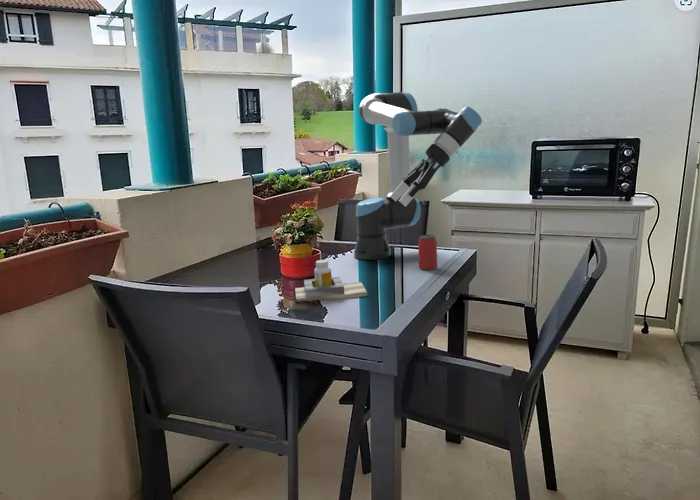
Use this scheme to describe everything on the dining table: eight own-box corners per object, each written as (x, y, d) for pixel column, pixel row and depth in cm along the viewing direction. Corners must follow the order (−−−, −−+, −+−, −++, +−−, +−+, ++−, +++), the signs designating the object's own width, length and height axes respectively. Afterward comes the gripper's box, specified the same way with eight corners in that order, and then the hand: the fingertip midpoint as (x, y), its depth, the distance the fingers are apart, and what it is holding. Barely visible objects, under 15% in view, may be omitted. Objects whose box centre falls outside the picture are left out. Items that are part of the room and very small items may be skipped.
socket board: (295, 291, 167) (294, 280, 166) (361, 285, 170) (360, 274, 169) (296, 302, 155) (295, 291, 155) (367, 295, 158) (366, 284, 157)
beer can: (436, 270, 182) (436, 237, 180) (418, 270, 184) (417, 238, 181) (437, 265, 189) (436, 234, 186) (419, 266, 190) (418, 234, 188)
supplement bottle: (334, 288, 164) (332, 259, 162) (329, 293, 159) (326, 263, 157) (319, 287, 165) (317, 258, 163) (313, 292, 160) (310, 263, 158)
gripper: (463, 159, 149) (415, 214, 151) (438, 157, 174) (397, 204, 175) (446, 142, 148) (397, 197, 149) (422, 142, 172) (381, 189, 173)
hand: (397, 201), depth 162 cm, fingers open, 13 cm apart
